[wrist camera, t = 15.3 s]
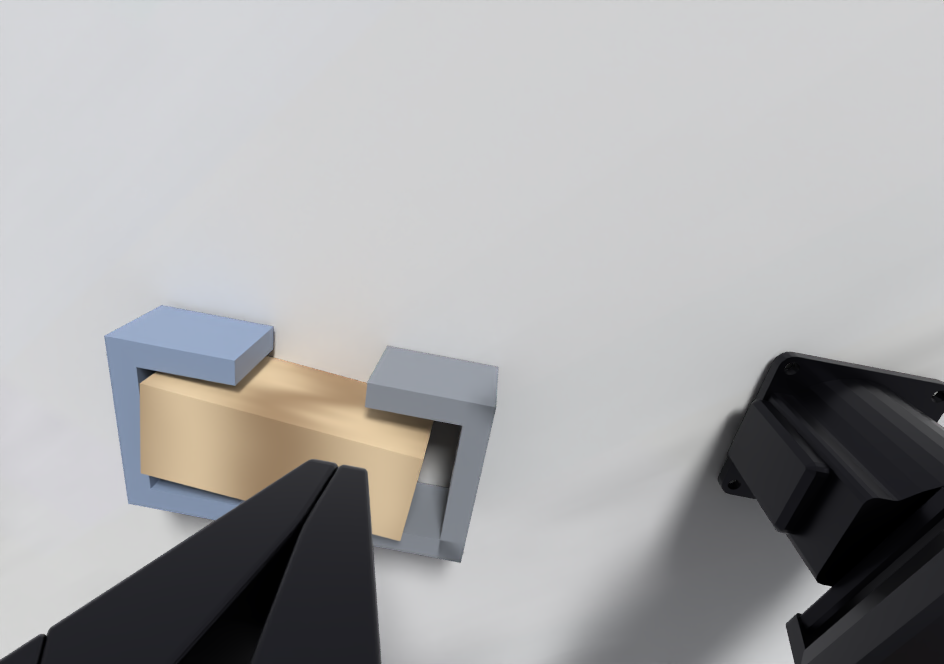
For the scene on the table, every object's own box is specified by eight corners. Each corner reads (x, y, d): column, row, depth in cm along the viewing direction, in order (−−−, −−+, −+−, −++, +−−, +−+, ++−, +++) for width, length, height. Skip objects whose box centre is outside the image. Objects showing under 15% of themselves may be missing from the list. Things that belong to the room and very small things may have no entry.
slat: (439, 399, 21) (423, 459, 17) (418, 472, 22) (400, 541, 19) (206, 336, 21) (139, 383, 17) (202, 414, 22) (140, 473, 18)
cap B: (273, 326, 20) (234, 360, 17) (271, 475, 23) (238, 524, 20) (161, 305, 20) (104, 335, 17) (175, 456, 23) (128, 503, 20)
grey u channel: (498, 367, 20) (495, 407, 17) (466, 509, 23) (460, 562, 20) (387, 346, 20) (367, 382, 17) (370, 490, 23) (351, 541, 20)
